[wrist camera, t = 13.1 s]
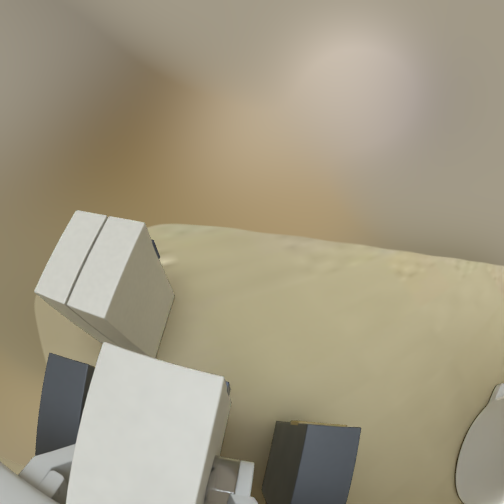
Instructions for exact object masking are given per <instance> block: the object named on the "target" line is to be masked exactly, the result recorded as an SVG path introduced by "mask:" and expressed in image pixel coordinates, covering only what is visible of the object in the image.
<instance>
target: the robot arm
mask: <svg viewBox="0 0 504 504" xmlns="http://www.w3.org/2000/svg"><path fill="white" fill-rule="evenodd" d="M75 445H76V444H73V445H70V446H67V447H64V448H61V449H58V450H54V451H51V452H47V453H44V454H40V455H37V456H34V457H33V458H32V459H31V460H30V462H29V463H28V464H27V465H26V466H25V468H24V469H23V470H22V471H21V472H20V474H19V475H17V474H15V473H14V472H13V471H11V470H10V469H9V468H8V467H6V466H5V465H4V464H3V463H2V462H0V504H66V499H67V491H68V484H69V477H70V471H71V465H72V460H73V455H74V449H75ZM253 473H254V462H248V461H240V460H238V459H232V458H227V457H222V456H217V455H215V457H214V461H213V464H212V470H211V472H210V476H209V479H208V483H207V487H206V492H205V499H204V504H258V502H257V501H256V499H255V498H254V497H250V495H251V488H252V480H253ZM456 488H457V492H458V495H459V497H460V499H461V501H462V502H463V503H464V504H504V383H502V384H498V385H497V386H496V387H495V389H494V391H493V393H492V396H491V398H490V401H489V403H488V404H487V406H486V407H485V408H484V409H483V411H482V412H481V413H480V414H479V415H478V416H477V418H476V419H475V421H474V422H473V424H472V425H471V427H470V429H469V431H468V433H467V435H466V437H465V440H464V442H463V445H462V448H461V451H460V454H459V458H458V463H457V469H456Z"/></svg>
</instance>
